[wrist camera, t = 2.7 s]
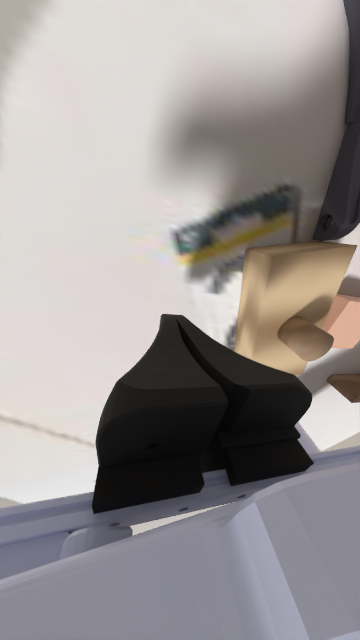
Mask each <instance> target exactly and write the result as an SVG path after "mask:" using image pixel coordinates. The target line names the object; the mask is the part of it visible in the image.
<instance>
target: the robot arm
mask: <svg viewBox="0 0 360 640" xmlns="http://www.w3.org/2000/svg"><path fill="white" fill-rule="evenodd" d="M311 402H312V393H311V392H310V391H309V390H308V389H307V388H306V387H305V386H304V384H303V383H302V382H301V381H300V380H299V379H298V378H297V377H296V376H295V375H293V374H290V373H287V372H284V371H281V370H278V369H275V368H272V367H269V366H266V365H264V364H261V363H258V362H256V361H253V360H251V359H249V358H246V357H244V356H242V355H240V354H238V353H236V352H234V351H232V350H230V349H228V348H227V347H225V346H223V345H221V344H220V343H218V342H217V341H215V340H214V339H212V338H211V337H209V336H208V335H206V334H205V333H204V332H202V331H201V330H200V329H199V328H197V327H196V326H195V325H194V324H193V323H191V322H190V321H189V320H188V319H187V318H186V317H184V316H183V315H171V314H162V315H161V319H160V327H159V331H158V334H157V336H156V338H155V340H154V342H153V343H152V345H151V347H150V348H149V349H148V351H147V352H146V353H145V355H144V356H143V357H142V358H141V359H140V360H139V362H138V363H137V364H136V365H135V366H134V367H133V368H132V369H131V370H130V371H128V372H127V373H126V374H125V375H124V376H123V377H121V378H120V379H119V380H118V381H117V382H116V384H115V386H114V388H113V390H112V392H111V393H110V396H109V398H108V400H107V402H106V404H105V407H104V409H103V412H102V415H101V418H100V422H99V426H98V431H97V436H96V449H97V456H98V464H99V468H98V473H97V479H96V484H95V490H94V492H90V493H84V494H78V495H73V496H67V497H61V498H55V499H50V500H44V501H38V502H32V503H27V504H21V505H15V506H10V507H4V508H0V640H360V446H355V447H349V448H343V449H338V450H332V451H326V452H321V451H320V450H319V449H318V447H317V446H316V445H315V443H314V442H313V441H312V439H311V438H310V437H309V436H308V434H307V433H306V432H305V430H304V429H303V428H302V426H301V425H300V424H299V423H298V421H299V420H300V419H301V417H302V416H303V415H304V414H305V413H306V411H307V410H308V408H309V407H310V405H311ZM232 502H234V503H232ZM228 503H231V504H228ZM224 504H228V505H225V506H221V507H218V508H215V509H212V510H209V511H206V512H203V513H200V514H197V515H194V516H191V517H188V518H185V519H182V520H179V521H176V522H173V523H170V524H167V525H164V526H161V527H158V528H155V529H152V530H149V531H146V532H143V533H140V534H137V535H134V536H132V529H131V527H130V526H131V525H136V524H140V523H144V522H149V521H153V520H158V519H162V518H166V517H171V516H175V515H180V514H184V513H189V512H193V511H197V510H201V509H206V508H210V507H215V506H219V505H224Z"/></svg>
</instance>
